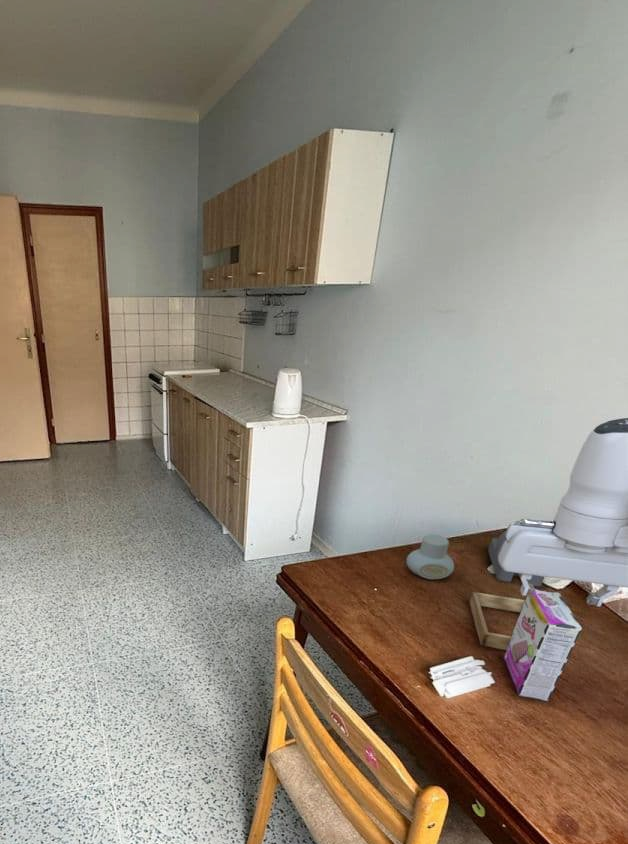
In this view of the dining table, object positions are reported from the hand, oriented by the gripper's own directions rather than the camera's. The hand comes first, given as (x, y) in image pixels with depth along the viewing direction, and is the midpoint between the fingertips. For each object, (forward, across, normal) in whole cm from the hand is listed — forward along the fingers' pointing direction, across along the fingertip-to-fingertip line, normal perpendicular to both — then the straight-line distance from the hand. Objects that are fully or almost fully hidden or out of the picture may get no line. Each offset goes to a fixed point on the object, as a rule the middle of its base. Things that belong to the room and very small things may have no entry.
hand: (558, 599), depth 80 cm
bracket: (+18, +7, +47) cm, 51 cm away
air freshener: (+18, -14, +36) cm, 43 cm away
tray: (+18, 0, +16) cm, 24 cm away
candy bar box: (+18, 0, 0) cm, 18 cm away
